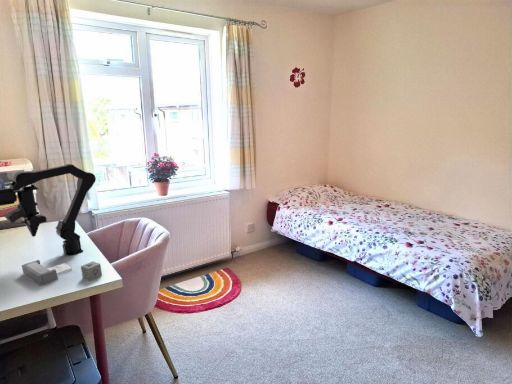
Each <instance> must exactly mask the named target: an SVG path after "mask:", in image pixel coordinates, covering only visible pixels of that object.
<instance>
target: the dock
mask: <svg viewBox="0 0 512 384" xmlns="http://www.w3.org/2000/svg"><path fill="white" fill-rule="evenodd" d="M21 269H22V273H23V275H24V276H25V277H27V278H28V279H30V280H31V281H32V282H33V283H35V284H36V285H38V286H40V287H41V286H43V285H46V284H50V283H53V282H55V281H58V275H57V273H56V270H55V269H54V270H51V271H50V270H48V268H47V267H45V266H43V265H41V261H40V259H37V260H34V261H31V262H28V263H24V264H22V265H21Z"/></svg>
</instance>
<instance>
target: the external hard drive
mask: <svg viewBox="0 0 512 384" xmlns="http://www.w3.org/2000/svg"><path fill="white" fill-rule="evenodd" d="M47 269H48V270H50V271H51V270H54V269H55V270H56V273H57V276H60V275H62V274H65V273H67V272H70V271H73V267H71V266H70V265H68V264H67V263H61V264H58V265H54V266H51V267H49V268H47Z"/></svg>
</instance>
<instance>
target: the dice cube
mask: <svg viewBox="0 0 512 384" xmlns="http://www.w3.org/2000/svg"><path fill="white" fill-rule="evenodd" d="M101 266H102V265H101V263H98V262H96V261H90V262H88V263H85V264H83V265H81V266H80V270H81V275H82V279H85V280H87V281H93V280H95V279H98V278H100V277H102V276H103V272H102V267H101Z"/></svg>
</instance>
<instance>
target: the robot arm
mask: <svg viewBox="0 0 512 384" xmlns="http://www.w3.org/2000/svg"><path fill="white" fill-rule="evenodd" d="M68 174H70V175H72V176H73V177H75V178H77V181H76V191H75V193H74V194H73V197H72V200H71V203H70V205H69V207H68V211H67V212H66V215H65V217H64V218H63V220H61V219H58V221H57V225H56V227H55V232H56V233H55V234H57V236H58V237H60V238H61V239H62V240H63V241H62V251H63V254H65V255H67V256H69V257H70V256H73V255H76V254H79V253H82V252H84V249H82V245H81V235H80V234H78V233H76V232H75V230H76V221H77V219H78V218H77V217H78V216H79V212H80V211H81V208H82V205H83V203H84V200H85V198H86V196H87V193H88V192H89V191H90V190H91V189H92V188H93V186H94V184H95V182H96V179H97V178H96V176H95V174H94V173H93V172H89V171H84V170H83V169H80V168H79V167H77V166H75V165H74V164H71V163H67V164H64V165H60V166H55V167H49V168H44V169H39V170H25V171H24V170H23V171H21V170H20V171H17V172H16V173H14V174H13V178H12V179H13V181H12V182H11V184H10V186H9V187H6V188H0V207H1V206H6V205H7V206H9V205H14V204H15V203H16V201H18V204H17V208H15V209H13V210H11V211H9V212H8V213H6V214H4V218H5V219H6V220H7V223H10V224H14V223H15V222H17V221H18V220H20V219H21V221H20V223H22V224H24V225H25V226H26V227H27V229H28V231H29V233H30V235H31V237H36V236H37V234H38V233H37V232H38V229H39V227H40V224H44V223H47V222H48V221H47V219H48V218H47V217H46V216H45V215H42V214H40V212H39V211H38V209H37V206H38V202H37V201H36V198H35V193H34V191H36V190H39V187H37V186H36V185H35V184H36V183H37V182H39V181H43V180H46V179H50V178H54V177H59V176H63V175H64V176H65V175H68ZM16 193H17V194H16Z"/></svg>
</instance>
